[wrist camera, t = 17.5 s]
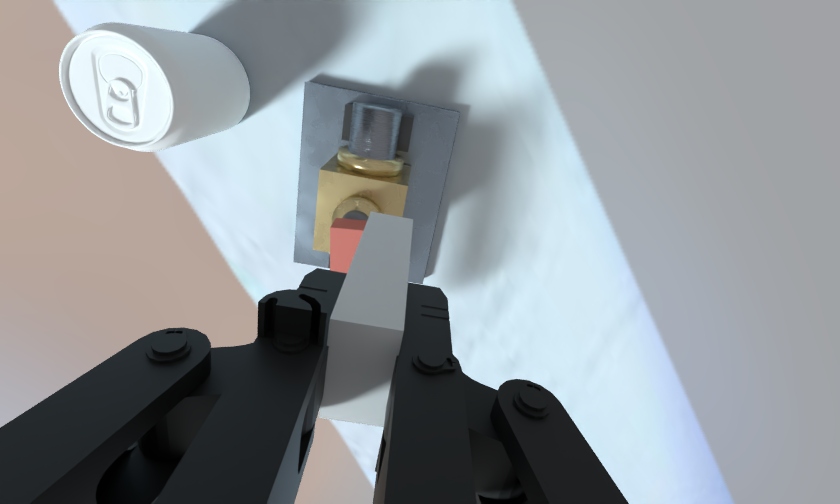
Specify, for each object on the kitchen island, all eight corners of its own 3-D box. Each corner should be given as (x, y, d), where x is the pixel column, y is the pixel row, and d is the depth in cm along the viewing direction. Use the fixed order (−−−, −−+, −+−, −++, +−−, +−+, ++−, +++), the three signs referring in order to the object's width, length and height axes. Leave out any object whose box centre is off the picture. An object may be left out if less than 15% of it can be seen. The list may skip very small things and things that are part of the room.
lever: (339, 208, 31) (330, 224, 28) (373, 211, 31) (367, 228, 28) (337, 379, 38) (329, 407, 35) (364, 381, 38) (359, 410, 35)
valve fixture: (308, 81, 37) (272, 85, 28) (458, 111, 37) (468, 124, 29) (296, 257, 44) (265, 303, 35) (422, 278, 45) (421, 329, 36)
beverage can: (258, 51, 36) (184, 44, 25) (248, 141, 39) (178, 170, 28) (164, 21, 35) (44, 0, 24) (162, 116, 38) (55, 135, 27)
